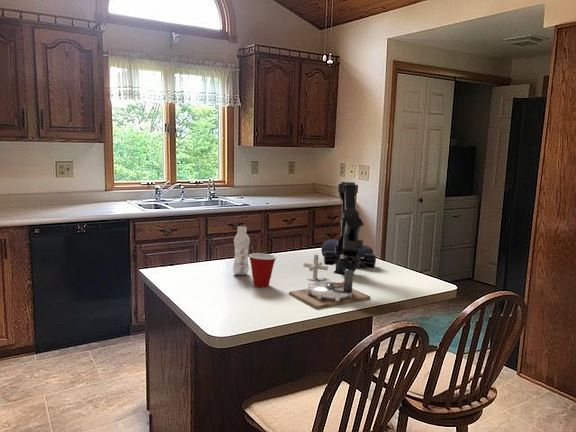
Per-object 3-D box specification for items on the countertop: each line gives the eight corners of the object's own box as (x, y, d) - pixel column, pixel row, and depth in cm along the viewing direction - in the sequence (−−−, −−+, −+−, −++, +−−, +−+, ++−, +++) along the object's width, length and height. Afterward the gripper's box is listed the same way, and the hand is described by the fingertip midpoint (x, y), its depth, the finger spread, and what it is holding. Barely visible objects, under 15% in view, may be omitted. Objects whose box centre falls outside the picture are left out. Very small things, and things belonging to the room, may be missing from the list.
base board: (315, 309, 161) (316, 300, 161) (288, 294, 175) (289, 286, 175) (370, 299, 174) (370, 291, 173) (341, 286, 188) (341, 278, 188)
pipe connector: (330, 277, 200) (332, 253, 198) (322, 283, 191) (323, 258, 189) (308, 273, 204) (309, 250, 202) (298, 279, 195) (300, 255, 193)
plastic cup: (280, 284, 187) (282, 254, 185) (266, 291, 178) (267, 259, 176) (257, 279, 192) (258, 250, 190) (241, 286, 183) (242, 255, 181)
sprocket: (297, 294, 172) (299, 267, 170) (319, 283, 186) (321, 258, 184) (341, 304, 163) (342, 275, 161) (360, 292, 177) (362, 265, 176)
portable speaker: (376, 266, 222) (377, 245, 220) (365, 270, 214) (367, 248, 212) (329, 256, 236) (331, 236, 235) (318, 260, 228) (319, 239, 227)
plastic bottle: (229, 275, 196) (230, 227, 193) (237, 271, 202) (238, 224, 199) (243, 277, 194) (245, 228, 191) (251, 273, 200) (252, 226, 197)
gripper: (325, 229, 177) (322, 266, 167) (377, 233, 174) (376, 270, 165) (325, 246, 185) (322, 281, 176) (375, 249, 183) (374, 286, 174)
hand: (348, 279), depth 173 cm, fingers closed
